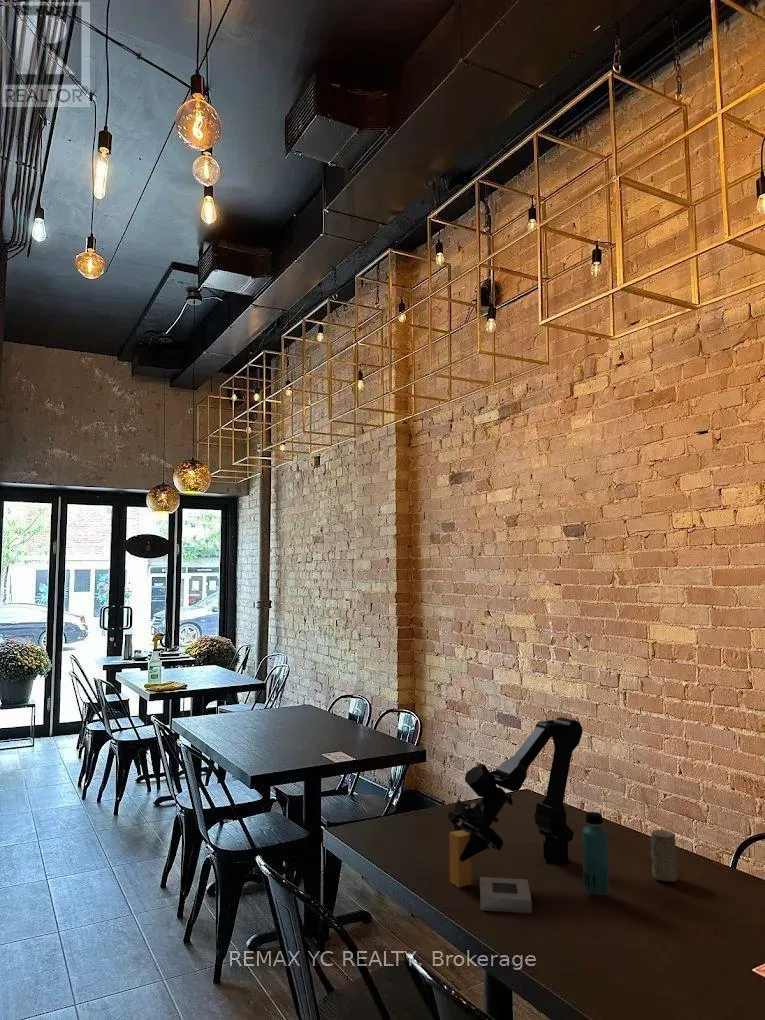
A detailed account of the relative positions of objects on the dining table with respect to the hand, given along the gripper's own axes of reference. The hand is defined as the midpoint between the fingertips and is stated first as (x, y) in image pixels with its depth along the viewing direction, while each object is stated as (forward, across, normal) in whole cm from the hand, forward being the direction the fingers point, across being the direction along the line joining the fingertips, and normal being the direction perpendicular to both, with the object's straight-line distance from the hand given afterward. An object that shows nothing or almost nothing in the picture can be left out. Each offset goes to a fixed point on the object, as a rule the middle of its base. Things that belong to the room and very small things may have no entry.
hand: (455, 857), depth 182 cm
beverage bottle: (-14, +23, +24) cm, 36 cm away
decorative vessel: (-31, +24, +41) cm, 57 cm away
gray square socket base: (+1, +14, +8) cm, 16 cm away
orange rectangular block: (+4, 0, +6) cm, 7 cm away
